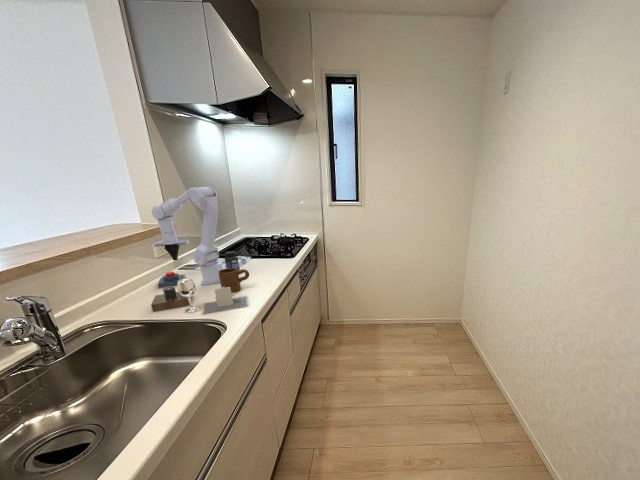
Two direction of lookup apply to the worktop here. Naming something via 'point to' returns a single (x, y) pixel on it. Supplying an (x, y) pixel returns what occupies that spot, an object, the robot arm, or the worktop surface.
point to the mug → (232, 278)
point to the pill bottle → (231, 260)
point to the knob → (169, 292)
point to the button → (170, 274)
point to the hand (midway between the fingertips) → (175, 259)
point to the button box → (170, 280)
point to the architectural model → (224, 301)
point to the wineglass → (187, 291)
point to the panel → (169, 302)
